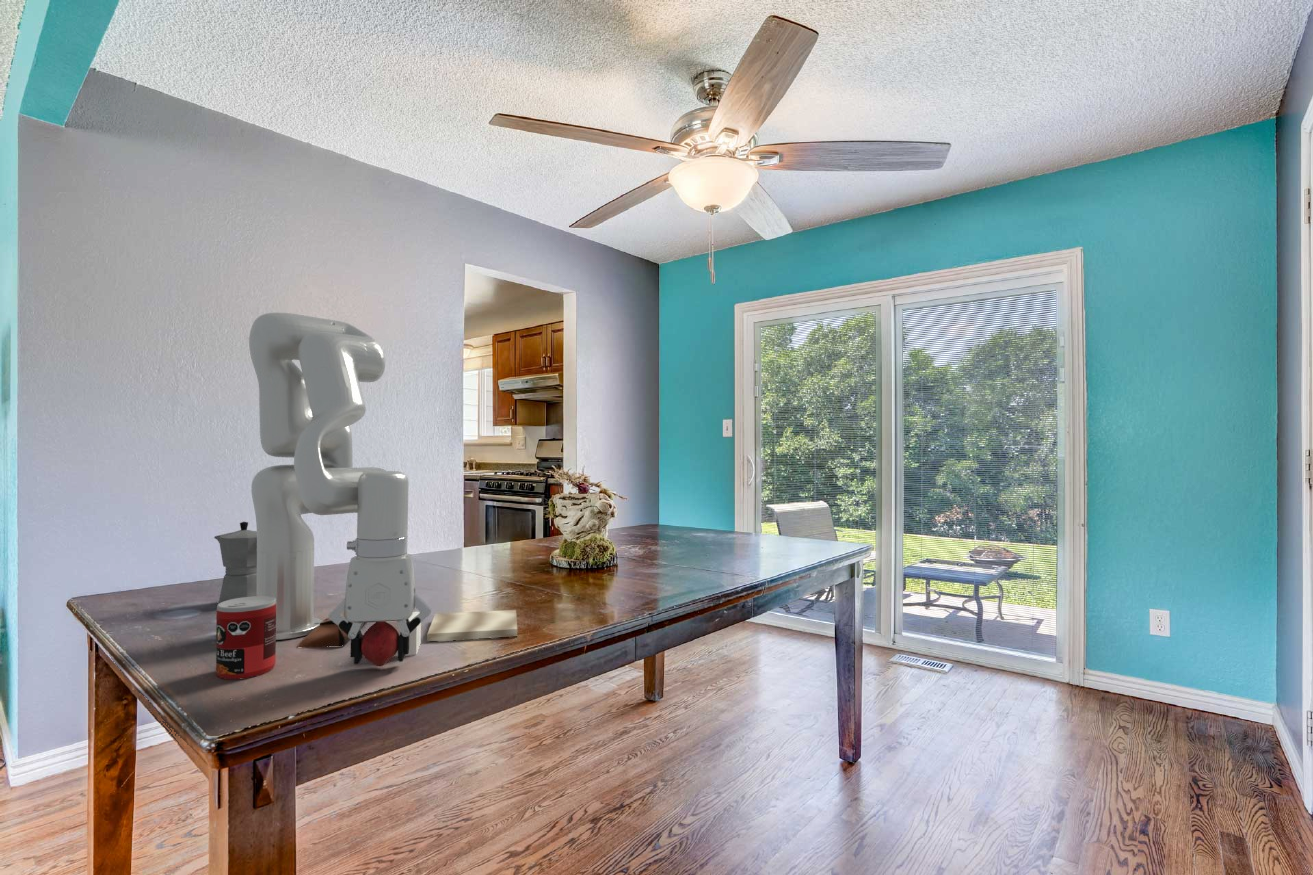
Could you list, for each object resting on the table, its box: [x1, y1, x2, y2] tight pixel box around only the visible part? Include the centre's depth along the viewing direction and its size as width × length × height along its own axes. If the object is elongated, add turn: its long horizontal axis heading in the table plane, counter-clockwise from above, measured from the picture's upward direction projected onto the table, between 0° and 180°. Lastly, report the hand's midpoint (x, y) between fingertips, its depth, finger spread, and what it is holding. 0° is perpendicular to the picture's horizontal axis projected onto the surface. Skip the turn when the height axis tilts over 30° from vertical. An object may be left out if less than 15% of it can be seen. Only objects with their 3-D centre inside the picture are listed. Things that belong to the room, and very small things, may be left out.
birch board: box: [426, 609, 518, 642], centre depth 127 cm, size 16×14×2 cm
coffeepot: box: [213, 521, 257, 605], centre depth 145 cm, size 15×9×18 cm, turn 87°
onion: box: [361, 622, 399, 668], centre depth 105 cm, size 6×6×8 cm
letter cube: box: [387, 611, 422, 657], centre depth 114 cm, size 6×6×6 cm
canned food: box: [215, 596, 277, 680], centre depth 103 cm, size 8×8×11 cm
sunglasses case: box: [296, 611, 366, 648], centre depth 124 cm, size 18×7×7 cm
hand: (380, 659), depth 105 cm, fingers closed on onion, 5 cm apart
